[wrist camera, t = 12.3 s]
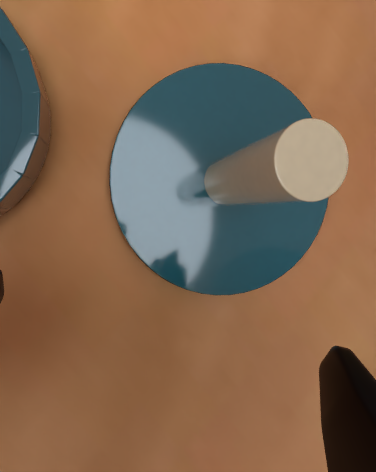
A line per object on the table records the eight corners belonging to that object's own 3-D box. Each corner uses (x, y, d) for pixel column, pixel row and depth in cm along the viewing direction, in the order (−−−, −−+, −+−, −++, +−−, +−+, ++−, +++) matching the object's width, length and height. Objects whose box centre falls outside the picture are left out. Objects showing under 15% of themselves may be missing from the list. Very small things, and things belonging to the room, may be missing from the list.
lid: (206, 335, 22) (283, 432, 13) (58, 164, 20) (9, 117, 10) (356, 199, 24) (527, 190, 14) (236, 24, 22) (344, -133, 12)
